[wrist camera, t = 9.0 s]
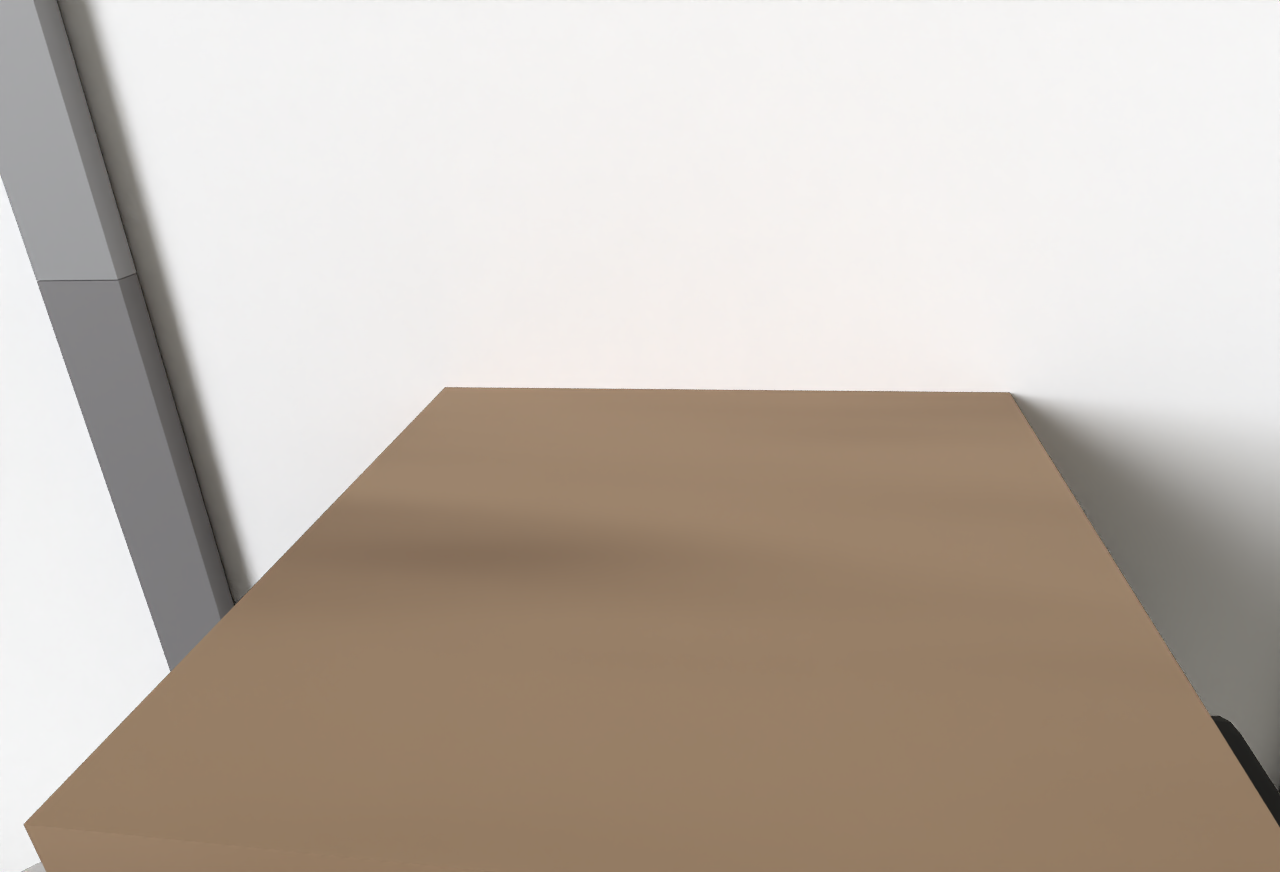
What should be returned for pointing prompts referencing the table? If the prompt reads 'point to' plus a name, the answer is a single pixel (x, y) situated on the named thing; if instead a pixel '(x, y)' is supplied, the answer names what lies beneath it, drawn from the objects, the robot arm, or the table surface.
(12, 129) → the lane
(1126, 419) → the table surface
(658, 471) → the die
